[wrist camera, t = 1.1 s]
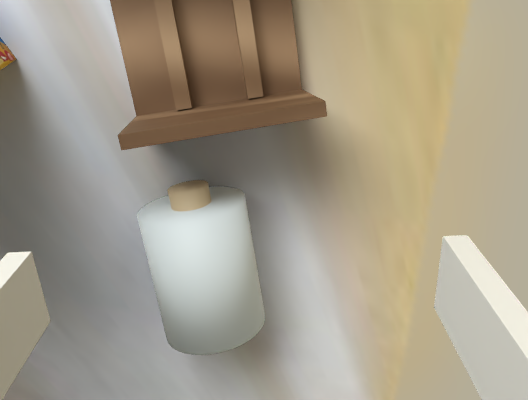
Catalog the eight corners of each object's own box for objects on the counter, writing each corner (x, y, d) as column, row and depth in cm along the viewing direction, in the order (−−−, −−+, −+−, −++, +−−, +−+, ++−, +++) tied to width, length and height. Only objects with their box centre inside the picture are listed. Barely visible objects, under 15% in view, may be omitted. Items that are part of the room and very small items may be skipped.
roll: (268, 306, 38) (267, 364, 32) (179, 317, 39) (160, 376, 32) (244, 165, 35) (238, 196, 28) (147, 178, 35) (118, 212, 28)
